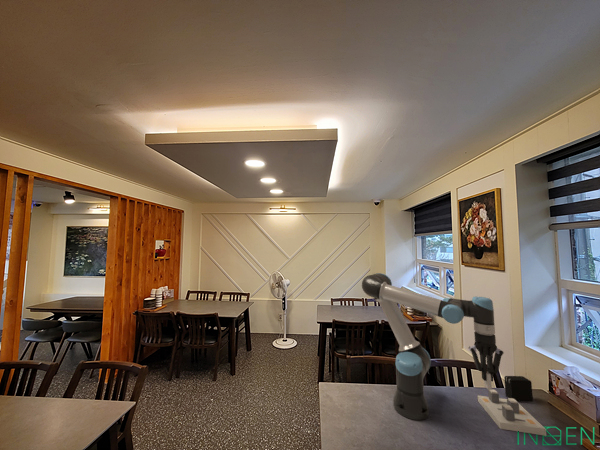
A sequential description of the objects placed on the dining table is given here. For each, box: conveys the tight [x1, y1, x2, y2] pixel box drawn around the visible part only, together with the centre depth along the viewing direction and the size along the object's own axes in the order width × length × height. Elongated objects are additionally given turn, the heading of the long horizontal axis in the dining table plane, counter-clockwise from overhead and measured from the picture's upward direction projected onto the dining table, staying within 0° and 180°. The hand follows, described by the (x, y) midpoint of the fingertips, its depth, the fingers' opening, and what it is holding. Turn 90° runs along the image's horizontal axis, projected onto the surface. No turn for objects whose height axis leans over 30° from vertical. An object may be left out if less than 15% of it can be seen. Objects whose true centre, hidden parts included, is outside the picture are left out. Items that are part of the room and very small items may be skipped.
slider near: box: [502, 405, 515, 421], centre depth 103 cm, size 3×3×5 cm
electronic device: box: [503, 375, 534, 403], centre depth 121 cm, size 4×10×10 cm, turn 89°
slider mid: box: [506, 397, 520, 414], centre depth 108 cm, size 3×3×5 cm
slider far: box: [487, 388, 500, 403], centre depth 114 cm, size 3×3×5 cm
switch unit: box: [477, 395, 547, 437], centre depth 108 cm, size 16×19×3 cm
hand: (488, 388), depth 105 cm, fingers closed
